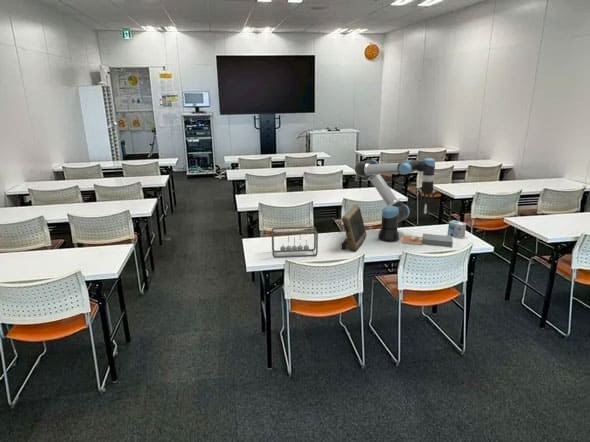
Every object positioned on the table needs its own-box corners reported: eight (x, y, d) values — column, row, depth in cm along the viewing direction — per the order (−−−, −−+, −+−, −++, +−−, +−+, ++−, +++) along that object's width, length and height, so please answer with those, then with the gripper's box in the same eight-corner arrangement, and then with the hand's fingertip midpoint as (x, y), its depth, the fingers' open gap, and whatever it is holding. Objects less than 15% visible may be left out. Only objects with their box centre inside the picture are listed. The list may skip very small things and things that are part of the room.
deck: (422, 244, 285) (422, 239, 283) (422, 238, 296) (422, 233, 294) (452, 247, 279) (452, 241, 278) (451, 241, 290) (451, 236, 288)
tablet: (360, 252, 270) (361, 217, 263) (339, 250, 274) (340, 216, 267) (366, 236, 300) (368, 204, 292) (348, 235, 304) (349, 203, 296)
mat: (401, 243, 287) (401, 242, 287) (403, 235, 301) (403, 235, 301) (422, 245, 283) (422, 244, 283) (422, 237, 297) (422, 237, 297)
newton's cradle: (315, 250, 275) (315, 225, 270) (317, 256, 265) (317, 231, 260) (272, 252, 273) (271, 227, 267) (272, 258, 263) (271, 232, 257)
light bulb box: (447, 235, 302) (448, 221, 299) (451, 233, 306) (452, 219, 303) (460, 238, 294) (462, 225, 291) (464, 236, 299) (466, 223, 295)
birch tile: (410, 241, 289) (410, 238, 289) (411, 238, 295) (411, 236, 294) (422, 242, 287) (422, 239, 286) (422, 239, 292) (422, 237, 292)
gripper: (417, 181, 278) (415, 213, 285) (437, 182, 273) (434, 215, 280) (418, 179, 284) (416, 211, 291) (438, 180, 280) (435, 212, 287)
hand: (425, 213), depth 286 cm, fingers closed
